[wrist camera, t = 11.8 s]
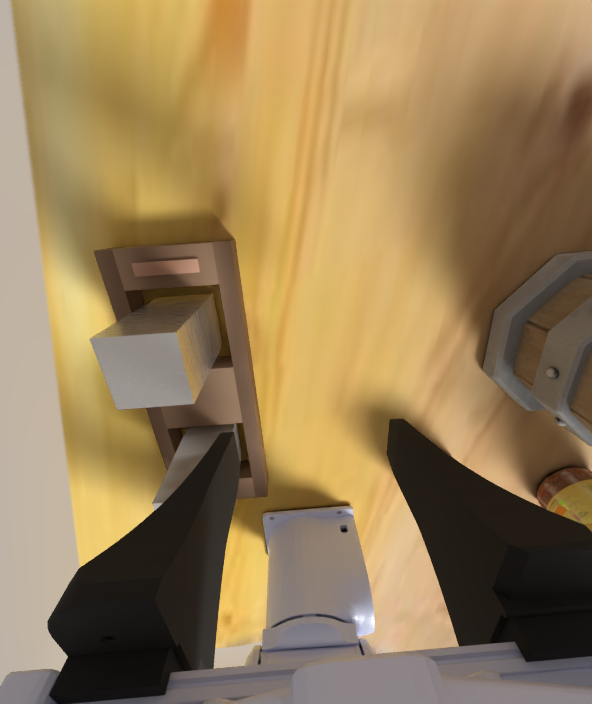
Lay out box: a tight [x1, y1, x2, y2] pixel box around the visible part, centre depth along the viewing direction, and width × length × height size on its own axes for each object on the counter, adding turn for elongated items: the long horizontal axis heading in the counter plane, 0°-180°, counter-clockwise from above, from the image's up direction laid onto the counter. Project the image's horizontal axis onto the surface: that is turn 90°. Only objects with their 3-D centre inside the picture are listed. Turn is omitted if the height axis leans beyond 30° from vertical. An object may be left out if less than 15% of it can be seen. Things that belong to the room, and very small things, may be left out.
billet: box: [90, 293, 223, 410], centre depth 18 cm, size 4×4×8 cm
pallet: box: [94, 240, 268, 510], centre depth 20 cm, size 8×22×8 cm, turn 4°
